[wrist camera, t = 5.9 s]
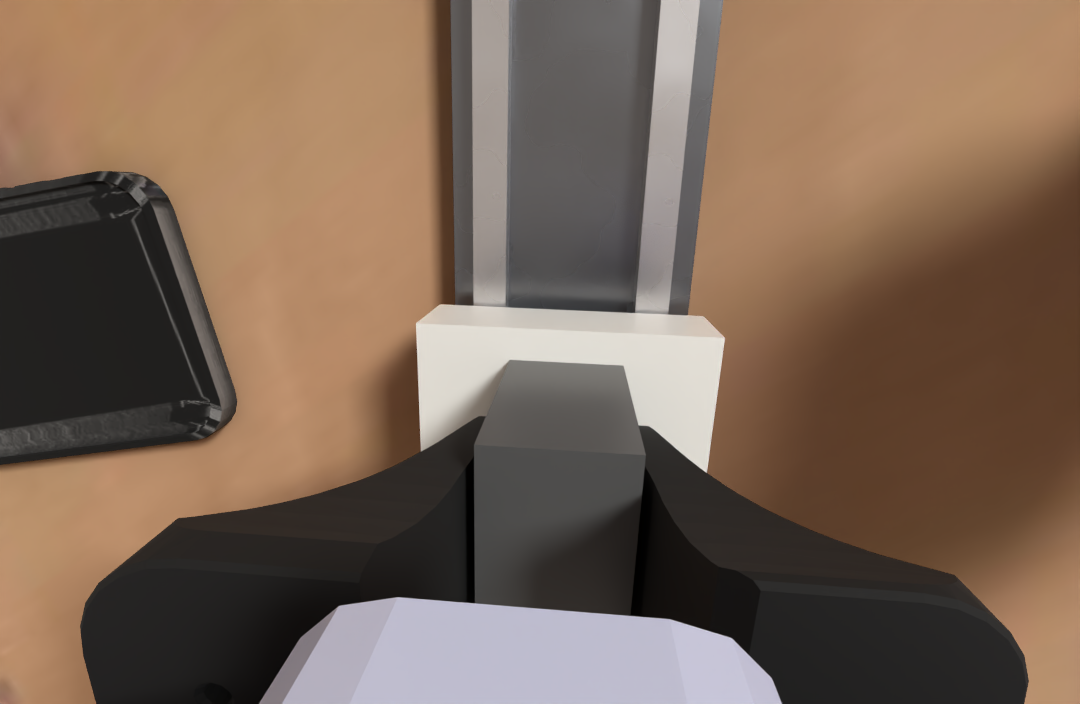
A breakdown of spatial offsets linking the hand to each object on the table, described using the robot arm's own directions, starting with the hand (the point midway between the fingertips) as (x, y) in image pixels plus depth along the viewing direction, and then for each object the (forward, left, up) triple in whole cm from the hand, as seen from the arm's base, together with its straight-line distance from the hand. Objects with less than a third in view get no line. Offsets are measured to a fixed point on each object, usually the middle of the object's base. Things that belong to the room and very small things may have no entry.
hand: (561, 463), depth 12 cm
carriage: (0, 0, -2) cm, 2 cm away
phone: (+18, -1, -5) cm, 19 cm away
